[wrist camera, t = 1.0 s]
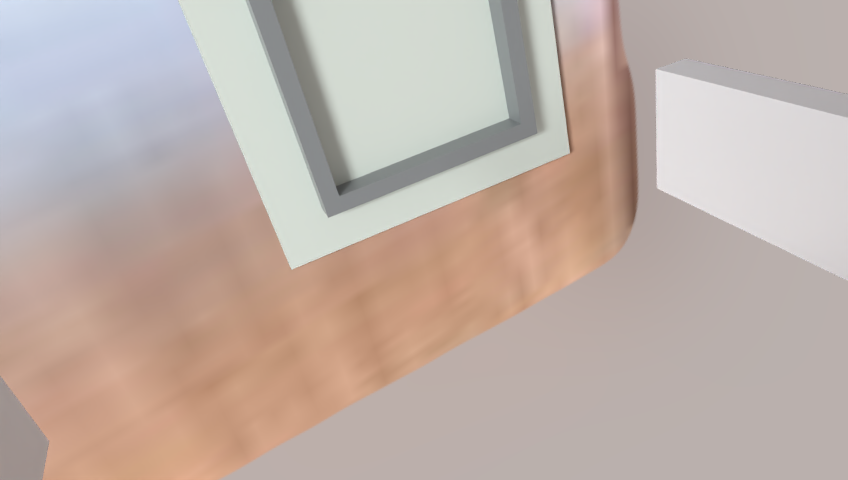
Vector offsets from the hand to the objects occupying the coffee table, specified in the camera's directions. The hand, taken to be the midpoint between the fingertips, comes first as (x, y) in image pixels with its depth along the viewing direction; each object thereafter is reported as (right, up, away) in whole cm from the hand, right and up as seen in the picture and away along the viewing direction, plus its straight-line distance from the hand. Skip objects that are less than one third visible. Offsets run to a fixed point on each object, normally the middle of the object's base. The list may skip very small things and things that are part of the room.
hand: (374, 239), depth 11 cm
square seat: (-1, +11, +24) cm, 26 cm away
